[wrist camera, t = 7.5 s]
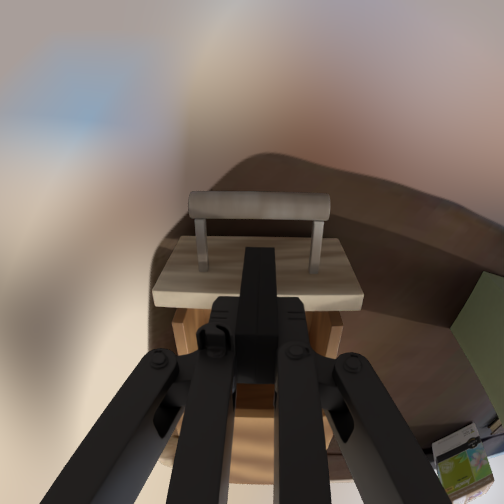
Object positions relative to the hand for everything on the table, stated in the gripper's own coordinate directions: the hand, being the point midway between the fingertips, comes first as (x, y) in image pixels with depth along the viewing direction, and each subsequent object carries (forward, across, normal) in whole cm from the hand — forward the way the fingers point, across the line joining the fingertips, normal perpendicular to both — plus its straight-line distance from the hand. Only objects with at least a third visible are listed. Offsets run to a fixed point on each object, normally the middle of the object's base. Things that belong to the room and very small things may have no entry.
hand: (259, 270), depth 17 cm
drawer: (+8, 0, -7) cm, 11 cm away
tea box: (+9, +42, -48) cm, 64 cm away
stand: (+9, +27, -10) cm, 30 cm away
